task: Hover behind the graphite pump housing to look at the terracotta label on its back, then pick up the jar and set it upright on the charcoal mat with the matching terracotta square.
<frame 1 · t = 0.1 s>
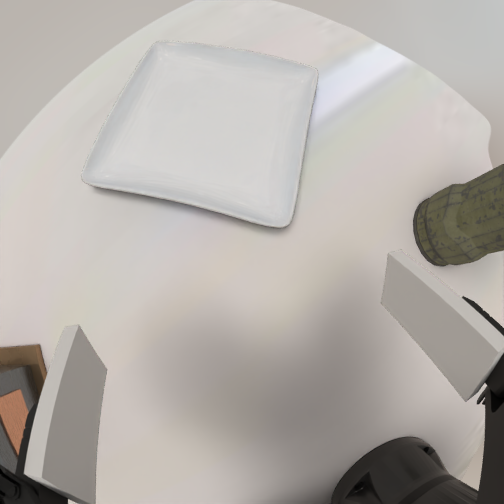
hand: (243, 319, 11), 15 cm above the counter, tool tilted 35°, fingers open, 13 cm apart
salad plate: (207, 125, 29), on the counter
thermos: (436, 232, 30), on the counter
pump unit: (30, 411, 21), on the counter
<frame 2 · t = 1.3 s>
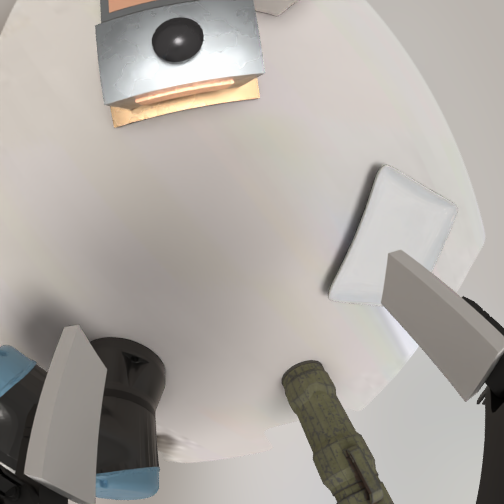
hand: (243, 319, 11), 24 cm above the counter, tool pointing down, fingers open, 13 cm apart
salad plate: (391, 241, 43), on the counter
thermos: (302, 374, 52), on the counter
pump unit: (179, 68, 25), on the counter
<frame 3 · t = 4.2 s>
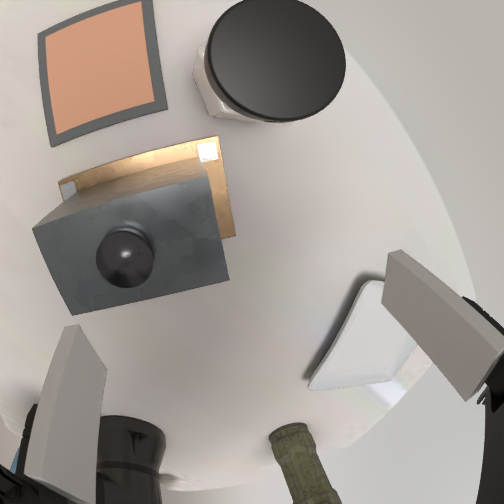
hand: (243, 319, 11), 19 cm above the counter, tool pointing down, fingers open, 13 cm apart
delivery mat: (96, 65, 19), on the counter
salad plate: (374, 330, 44), on the counter
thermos: (287, 431, 53), on the counter
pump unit: (145, 204, 26), on the counter
jar: (239, 81, 23), on the counter
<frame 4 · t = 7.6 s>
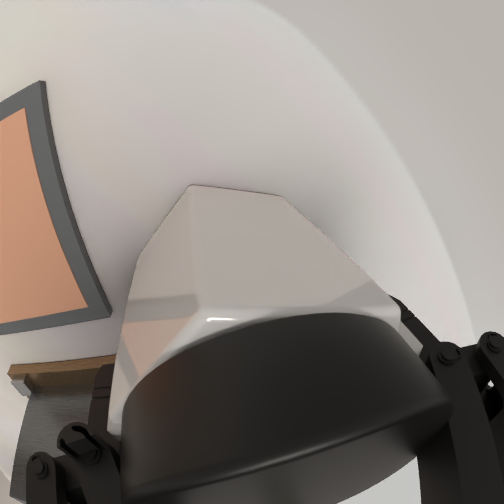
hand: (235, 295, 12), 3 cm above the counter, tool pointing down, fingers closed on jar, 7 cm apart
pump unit: (114, 399, 18), on the counter
jar: (224, 260, 15), on the counter, touching gripper
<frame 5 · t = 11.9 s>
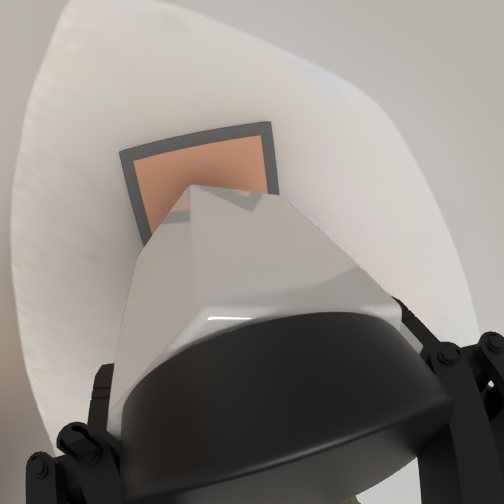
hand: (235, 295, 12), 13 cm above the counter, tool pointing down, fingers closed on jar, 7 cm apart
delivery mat: (208, 210, 23), on the counter
jar: (223, 259, 15), point 9 cm above the counter, touching gripper
when the fingers open (4 cm above the counter, at t = 16.4 s): jar stays where it is, resting on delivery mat.
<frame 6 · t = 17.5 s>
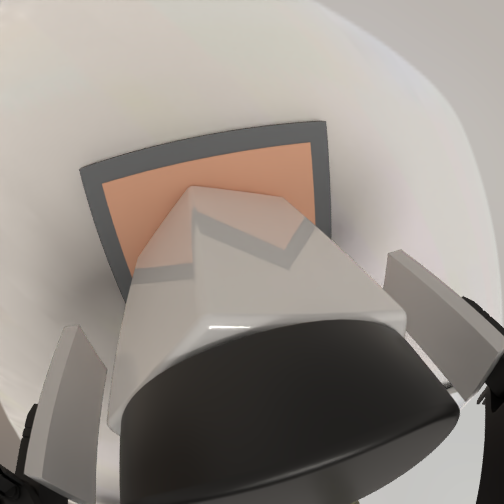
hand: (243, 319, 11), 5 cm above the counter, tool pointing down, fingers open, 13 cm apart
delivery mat: (224, 257, 15), on the counter
jar: (224, 261, 15), point 1 cm above the counter, touching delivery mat
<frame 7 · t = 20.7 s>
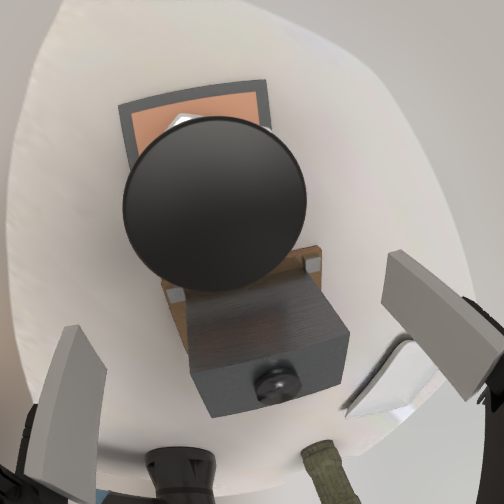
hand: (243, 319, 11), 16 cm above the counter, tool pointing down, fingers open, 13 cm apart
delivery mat: (202, 163, 23), on the counter
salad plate: (399, 369, 48), on the counter
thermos: (316, 447, 58), on the counter
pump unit: (247, 301, 30), on the counter
jar: (202, 164, 22), point 1 cm above the counter, touching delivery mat
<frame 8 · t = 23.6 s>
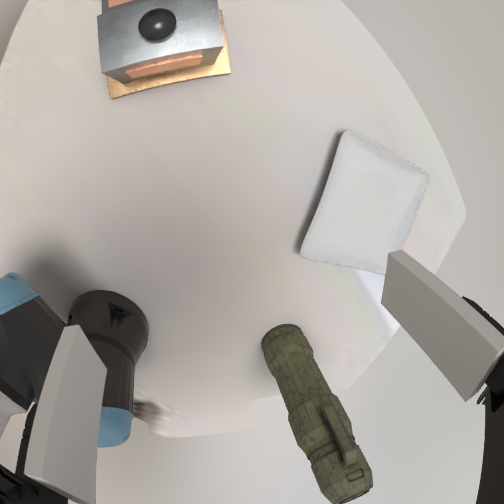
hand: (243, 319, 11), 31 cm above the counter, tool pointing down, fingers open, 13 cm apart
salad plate: (363, 205, 46), on the counter
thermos: (281, 339, 56), on the counter
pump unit: (165, 51, 29), on the counter
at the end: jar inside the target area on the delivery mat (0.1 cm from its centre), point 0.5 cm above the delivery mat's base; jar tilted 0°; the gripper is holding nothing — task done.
